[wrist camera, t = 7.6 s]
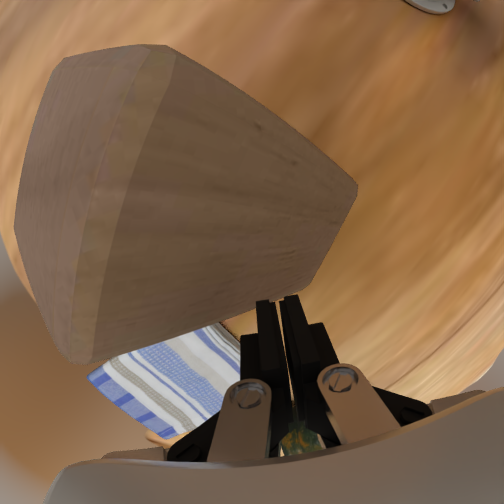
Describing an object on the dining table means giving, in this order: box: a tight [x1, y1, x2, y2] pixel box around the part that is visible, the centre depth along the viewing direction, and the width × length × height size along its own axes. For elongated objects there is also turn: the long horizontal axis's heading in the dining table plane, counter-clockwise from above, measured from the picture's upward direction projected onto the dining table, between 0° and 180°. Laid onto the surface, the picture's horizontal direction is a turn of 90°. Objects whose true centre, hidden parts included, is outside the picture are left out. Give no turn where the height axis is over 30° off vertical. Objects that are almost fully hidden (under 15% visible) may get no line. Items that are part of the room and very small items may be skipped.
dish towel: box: [87, 322, 240, 439], centre depth 34 cm, size 17×24×3 cm
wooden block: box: [14, 44, 358, 365], centre depth 16 cm, size 10×10×20 cm
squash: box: [280, 406, 323, 456], centre depth 32 cm, size 14×15×15 cm
